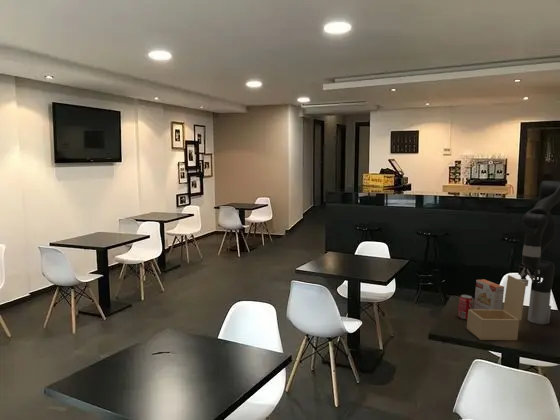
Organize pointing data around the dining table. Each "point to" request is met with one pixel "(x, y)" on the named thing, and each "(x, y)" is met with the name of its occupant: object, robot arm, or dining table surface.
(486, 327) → the carton
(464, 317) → the soda can
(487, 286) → the cracker box
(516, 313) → the lid flap
